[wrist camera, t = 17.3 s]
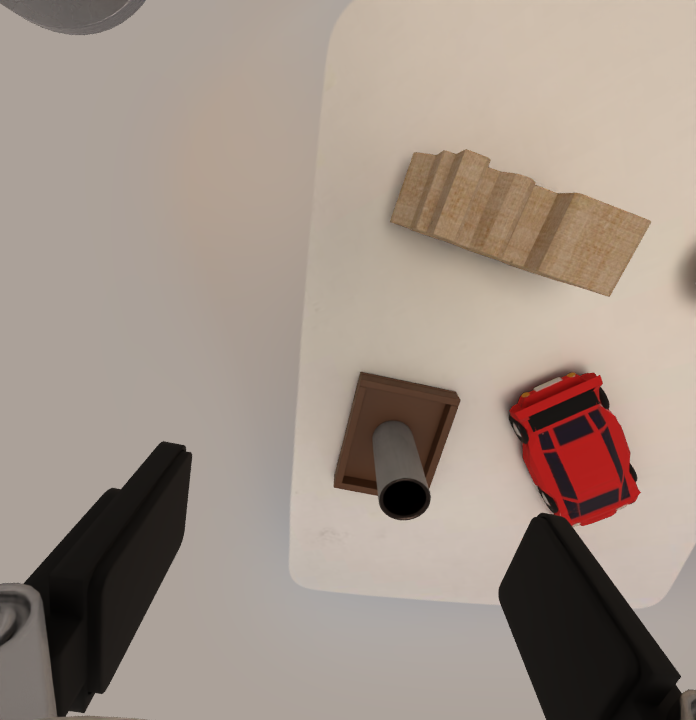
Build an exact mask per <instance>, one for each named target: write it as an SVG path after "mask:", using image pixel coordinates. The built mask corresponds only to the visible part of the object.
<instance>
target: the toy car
mask: <svg viewBox="0 0 696 720" xmlns="http://www.w3.org/2000/svg"><path fill="white" fill-rule="evenodd" d="M602 384H603V383H602V379H601V376H600V375H599V376H596V374H595V373H586V374H583V375H581V376H579V375H577V374H576V373H574V372H573V373H569V374H568V375H566V376H564V377H562V378H560V377H557V378H555V379H553V380H551V381H549V382H546V383H544V384H542V385H540V386H537V387H535V388H533V389H534V390H533V391H530V392H525V393H523V394H522V396H520V398H519V401H518V403H517V404H516V405H514V406H512V407H511V409H510V410H509V412H510V415H509V420H510V423H511V425H512V427H513V429H514V431H515V433H516V434H517V436H518V437H519V439H520V440H521V441H522V442H523V459H524V462H525V464H526V466H527V468H528V471H529V473H530V475H531V477H532V479H533V482H534V483H535V485H537V486H538V489H539V492H540V494H541V496H542V498H543V499H544V501H545V503H546V504H547V506H548V507H549V509H550V510H551V511H552V512H553V513H554V515H557V516H562V517H564V518H566V519H567V520H568V522H569V523H570V524H571V526H572V527H576V526H578V525H581V526H584V525H588V524H592V523H594V522H597V521H600V520H602V519H605V518H608V517H610V516H612V515H614V514H615V513H616V511H617V510H619V509H622V508H624V507H626V506H627V504H632V503H634V502H635V501H636V499H637V497H638V495H639V494H640V493H641V492H640V491H639V490H638V487H637V485H636V481H637V475H636V472H635V470H634V468H633V467H632V465H631V464H630V451H629V448H628V445H627V442H626V439H625V436H624V433H623V430H622V427H621V425H620V424H619V423H618V421H617V419H616V416H614V415H613V414H612V413H611V412H610V411H609V400H608V398H607V396H606V394H605V392H604V391H603V390H602V388H601V387H600V386H601V385H602Z"/></svg>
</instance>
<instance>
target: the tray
mask: <svg viewBox="0 0 696 720" xmlns="http://www.w3.org/2000/svg"><path fill="white" fill-rule="evenodd" d="M459 403H460V398H459V397H458V395H457V394H456V392H454V391H450V390H445V389H440V388H435V387H430V386H426V385H421V384H416V383H411V382H407V381H402V380H397V379H392V378H387V377H383V376H378V375H373V374H368V373H363V372H360V376H359V380H358V384H357V388H356V392H355V396H354V400H353V404H352V408H351V412H350V416H349V420H348V424H347V428H346V432H345V436H344V440H343V444H342V448H341V452H340V455H339V459H338V463H337V467H336V471H335V475H334V488H339V489H345V490H350V491H355V492H361V493H366V494H371V495H377V496H378V490H377V481H376V471H375V462H374V452H373V443H372V437H373V433H374V431H375V429H376V428H377V427H378V426H379V425H380V424H382V423H384V422H387V421H400V422H402V423H404V424H406V425H407V426H408V427H409V428H410V430H411V432H412V434H413V437H414V441H415V444H416V448H417V451H418V454H419V458H420V461H421V464H422V468H423V471H424V474H425V478H426V481H427V484H428V488H430V485H431V482H432V479H433V476H434V474H435V471H436V468H437V465H438V462H439V459H440V457H441V454H442V451H443V448H444V445H445V443H446V440H447V437H448V434H449V431H450V428H451V426H452V423H453V420H454V417H455V414H456V412H457V409H458V405H459Z"/></svg>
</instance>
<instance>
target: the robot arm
mask: <svg viewBox="0 0 696 720" xmlns="http://www.w3.org/2000/svg"><path fill="white" fill-rule="evenodd" d="M191 462H192V454H191V452H186V447H185V446H184V445H179V444H175V443H169V442H164V441H163V442H161V443H160V444H159V445H158V446H157V447H156V448H155V450H154V451H153V452H152V453H151V454H150V456H149V457H148V458H147V459H146V460H145V462H144V463H143V464H142V465H141V466H140V467H139V469H138V470H137V471H136V472H135V473H134V474H133V476H132V477H131V478H130V479H129V480H128V482H127V483H126V484H125V485H124V486H123V488H122V489H116V488H111V489H109V490H107V491H106V492H105V493H104V494H103V495H102V496H101V497H100V498H99V500H98V501H97V502H96V503H95V504H94V505H93V506H92V507H91V509H90V510H89V511H88V512H87V513H86V514H85V515H84V516H83V517H82V519H81V520H80V521H79V522H78V523H77V524H76V525H75V526H74V528H73V529H72V530H71V531H70V532H69V533H68V534H67V535H66V537H65V538H64V539H63V540H62V541H61V542H60V543H59V544H58V546H57V547H56V548H55V549H54V550H53V551H52V552H51V553H50V554H49V556H48V557H47V558H46V559H45V560H44V561H43V562H42V564H41V565H40V566H39V567H38V568H37V569H36V570H35V571H34V573H33V574H32V575H31V576H30V577H29V578H28V579H27V580H26V582H25V583H24V584H20V583H3V584H0V720H145V719H135V718H118V717H100V716H74V717H66V714H67V713H68V711H74V712H81V713H85V711H86V709H87V707H88V705H89V703H90V702H91V700H92V698H93V696H94V694H95V693H99V694H103V693H104V692H105V690H106V689H107V687H108V686H109V684H110V682H111V680H112V678H113V676H114V674H115V672H116V670H117V668H118V666H119V664H120V662H121V661H122V659H123V657H124V655H125V653H126V651H127V649H128V647H129V645H130V643H131V641H132V639H133V637H134V635H135V633H136V631H137V629H138V627H139V626H140V624H141V622H142V620H143V617H144V616H145V614H146V612H147V610H148V608H149V606H150V604H151V602H152V600H153V598H154V596H155V594H156V593H157V591H158V588H159V587H160V585H161V583H162V581H163V579H164V577H165V575H166V573H167V571H168V569H169V567H170V565H171V563H172V561H173V559H174V558H175V555H176V553H177V552H178V550H179V548H180V546H181V543H182V540H183V536H184V531H185V520H186V510H187V501H188V490H189V481H190V472H191ZM499 601H500V604H501V606H502V609H503V611H504V614H505V616H506V619H507V621H508V624H509V627H510V629H511V632H512V634H513V637H514V639H515V642H516V644H517V647H518V649H519V652H520V654H521V657H522V660H523V662H524V664H525V667H526V670H527V672H528V675H529V677H530V680H531V682H532V685H533V687H534V690H535V692H536V695H537V698H538V700H539V703H540V705H541V708H542V710H543V713H544V715H545V718H546V720H696V690H687V691H685V692H683V693H681V692H680V690H679V689H678V687H677V686H676V683H677V681H678V680H679V679H680V677H681V676H680V674H679V673H678V671H677V670H676V669H675V668H674V666H673V665H672V663H671V662H670V661H669V659H668V658H667V656H666V655H665V654H664V652H663V651H662V650H661V649H660V647H659V645H658V644H657V643H656V641H655V640H654V638H653V637H652V636H651V634H650V633H649V632H648V631H647V629H646V628H645V626H644V625H643V623H642V622H641V621H640V619H639V618H638V616H637V615H636V614H635V612H634V611H633V610H632V608H631V607H630V606H629V604H628V603H627V601H626V600H625V599H624V597H623V596H622V595H621V593H620V592H619V590H618V589H617V588H616V586H615V585H614V584H613V582H612V581H611V579H610V578H609V577H608V575H607V574H606V573H605V571H604V570H603V568H602V567H601V566H600V564H599V563H598V562H597V560H596V559H595V557H594V556H593V555H592V553H591V552H590V551H589V549H588V548H587V546H586V545H585V544H584V542H583V541H582V540H581V538H580V537H579V535H578V534H577V533H576V531H575V530H574V529H573V527H572V526H571V524H570V523H569V522H568V520H567V519H566V518H564V517H562V516H557V515H552V514H547V513H541V514H539V515H538V516H537V517H534V518H533V519H532V520H531V522H530V524H529V526H528V528H527V530H526V532H525V534H524V536H523V539H522V541H521V543H520V545H519V547H518V549H517V551H516V553H515V555H514V557H513V559H512V561H511V564H510V566H509V568H508V570H507V572H506V574H505V576H504V578H503V580H502V582H501V584H500V587H499Z"/></svg>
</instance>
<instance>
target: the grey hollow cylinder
mask: <svg viewBox="0 0 696 720" xmlns="http://www.w3.org/2000/svg"><path fill="white" fill-rule="evenodd" d="M372 443H373V452H374V462H375V471H376V481H377V490H378V499H379V505H380V507H381V509H382V511H383V512H384V513H385V514H386V515H388V516H389V517H391V518H394V519H397V520H410V519H414V518H416V517H418V516H420V515H421V514H423V513H424V512H425V511H426V509H427V508H428V506H429V504H430V500H431V496H430V491H429V488H428V484H427V481H426V478H425V474H424V471H423V468H422V464H421V461H420V458H419V454H418V451H417V448H416V444H415V441H414V437H413V434H412V432H411V430H410V428H409V427H408V426H407V425H406V424H404V423H402V422H400V421H387V422H384V423H382V424H380V425H379V426H378V427H377V428H376V429H375V431H374V433H373V437H372Z"/></svg>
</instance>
